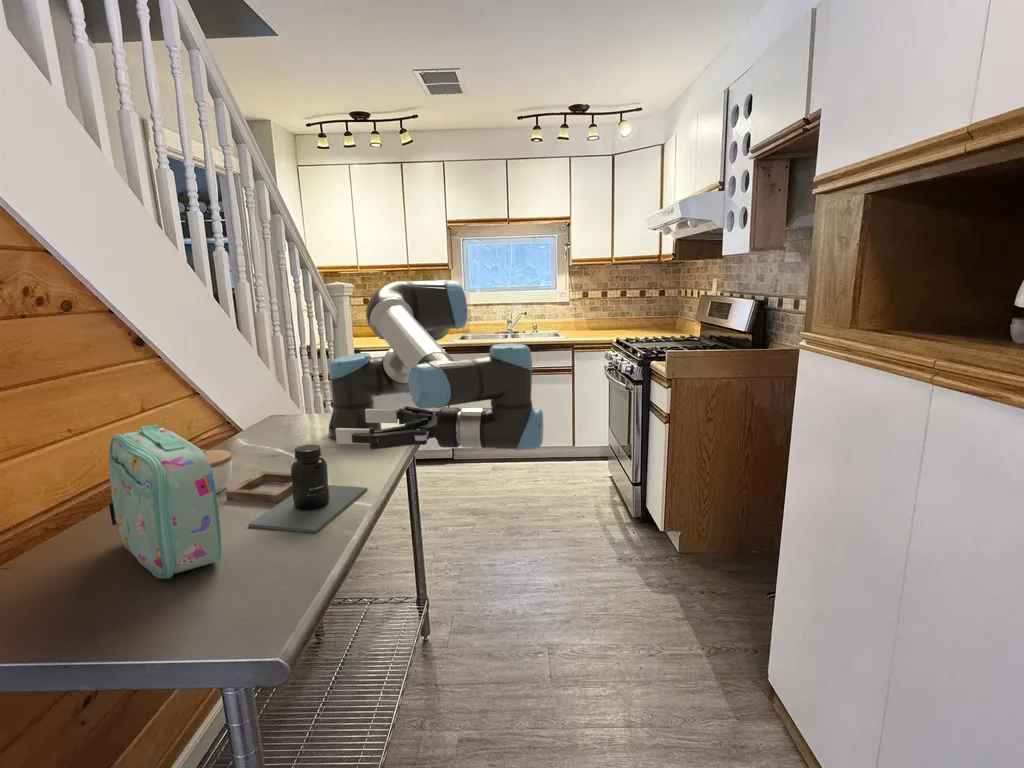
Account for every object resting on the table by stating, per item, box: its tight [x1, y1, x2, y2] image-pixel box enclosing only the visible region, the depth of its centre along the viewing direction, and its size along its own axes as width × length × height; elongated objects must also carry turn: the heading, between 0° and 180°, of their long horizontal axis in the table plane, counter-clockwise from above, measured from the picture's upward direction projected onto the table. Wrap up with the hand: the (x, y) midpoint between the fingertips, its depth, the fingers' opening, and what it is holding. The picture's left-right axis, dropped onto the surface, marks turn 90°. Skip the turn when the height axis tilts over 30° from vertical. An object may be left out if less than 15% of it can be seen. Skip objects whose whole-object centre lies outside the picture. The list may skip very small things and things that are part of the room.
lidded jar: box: [201, 449, 233, 494], centre depth 117 cm, size 11×11×9 cm
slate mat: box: [248, 484, 368, 534], centre depth 108 cm, size 20×14×1 cm
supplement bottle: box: [290, 444, 329, 511], centre depth 107 cm, size 7×7×12 cm
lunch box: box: [108, 424, 222, 580], centre depth 89 cm, size 27×10×21 cm, turn 50°
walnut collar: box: [225, 470, 293, 505], centre depth 117 cm, size 12×12×2 cm
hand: (352, 425), depth 103 cm, fingers open, 13 cm apart
